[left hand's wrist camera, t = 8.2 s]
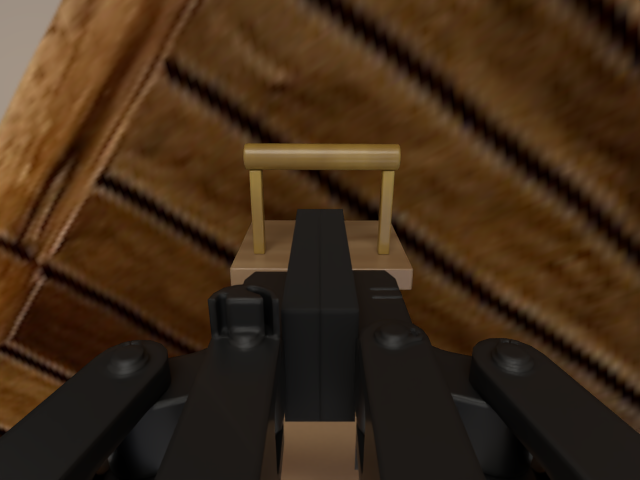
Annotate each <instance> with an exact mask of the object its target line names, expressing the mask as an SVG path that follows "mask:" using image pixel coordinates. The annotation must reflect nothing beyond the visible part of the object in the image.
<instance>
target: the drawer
mask: <svg viewBox="0 0 640 480" xmlns="http://www.w3.org/2000/svg"><path fill="white" fill-rule="evenodd" d="M243 159H244V166H245V168H246V169H247V170H250V171H249V174H250V192H251V210H252V223H251V225H250V227H249V229H248V231H247V233H246V236H245V238H244V240H243V242H242V244H241V246H240V249H239V251H238V253H237V255H236V257H235V259H234V261H233V264H232V266H231V268H230V275H231V286H233V285H239V284H243V283H244V280H245V279H246V278H248V277H249V276H250V275H251V274H253V273H254V272H255V271H287V270H288V264H289V258H290V252H291V246H292V240H293V234H294V228H295V222H296V220H265V217H264V194H263V172H262V170H381V187H380V205H379V221H344V222H345V228H346V234H347V240H348V246H349V252H350V258H351V264H352V270H385V271H387V272H388V273H389V274H390V275H392V276H393V277H394V278H396V281H397V284H398V286H399V290H411V288H412V277H413V268H412V266H411V264H410V262H409V260H408V258H407V256H406V254H405V252H404V249H403V247H402V245H401V243H400V241H399V239H398V237H397V235H396V233H395V231H394V229H393V226H392V224H391V218H392V203H393V188H394V173H395V172H394V170H398V169H399V166H400V161H401V149H400V146H399V145H398V144H245V146H244V151H243Z"/></svg>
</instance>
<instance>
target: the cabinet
mask: <svg viewBox="0 0 640 480" xmlns="http://www.w3.org/2000/svg"><path fill="white" fill-rule="evenodd" d="M355 446H356V412H355V422H285V414H284V451H283V461H282V472H281V480H359V472H358V470H355Z"/></svg>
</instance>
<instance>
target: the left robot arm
mask: <svg viewBox="0 0 640 480" xmlns="http://www.w3.org/2000/svg"><path fill="white" fill-rule="evenodd" d="M208 306H209V315H210V324H211V334H212V339H211V341H210V343H209V346H208V348H206V349H204V350H201V351H199V352H195V353H191V354H187V355H182V356H177V357H172V358H168V353H167V349H166V348H165V347H164V346H163V345H162V344H160V343H157V342H154V341H151V340H135V341H128V342H124V343H121V344H119V345H116V346H114V347H111V348H109V349H107V350H106V351H104V352H102V353H101V354H99V355H98V356H96V357H95V358H94V359H93V360H92V361H90V362H89V363H88V364H87V365H86V366H85V367H83V368H82V369H81V370H80V371H79V372H77V373H76V374H75V375H74V376H73V377H72V378H70V379H69V380H68V381H67V382H66V383H64V384H63V385H62V386H61V387H60V388H58V389H57V390H56V391H55V392H54V393H53V394H51V395H50V396H49V397H48V398H47V399H45V400H44V401H43V402H42V403H41V404H39V405H38V406H37V407H36V408H35V409H34V410H32V411H31V412H30V413H29V414H28V415H26V416H25V417H24V418H23V419H22V420H20V421H19V422H18V423H17V424H16V425H15V426H13V427H12V428H11V429H10V430H9V431H7V432H6V433H5V434H4V435H3V436H2V437H0V480H281V472H282V461H283V451H284V414H285V422H355V412H356V446H355V470H358V472H359V480H640V434H639V433H637V432H636V431H635V430H634V429H633V428H631V427H630V426H629V425H628V424H627V423H625V422H624V421H623V420H622V419H621V418H619V417H618V416H617V415H616V414H615V413H613V412H612V411H611V410H610V409H609V408H608V407H606V406H605V405H604V404H603V403H602V402H600V401H599V400H598V399H597V398H596V397H594V396H593V395H592V394H591V393H590V392H588V391H587V390H586V389H585V388H584V387H582V386H581V385H580V384H579V383H578V382H576V381H575V380H574V379H573V378H572V377H570V376H569V375H568V374H567V373H566V372H564V371H563V370H562V369H561V368H560V367H558V366H557V365H556V364H555V363H554V362H552V361H551V360H550V359H549V358H548V357H546V356H545V355H544V354H543V353H541V352H540V351H538V350H536V349H535V348H533V347H532V346H529V345H527V344H524V343H522V342H519V341H517V340H512V339H511V340H510V339H506V338H490V339H486V340H483V341H480V342H478V343H477V344H476V345H475V347H474V348H473V353H472V356H467V355H462V354H457V353H452V352H448V351H445V350H441V349H438V348H436V347H434V346H432V345H431V343H430V340H429V338H428V336H427V335H426V334H425V332H424V331H423V330H422V329H421V328H419V327H417V326H416V325H414V324H412V322H411V319H410V316H409V314H408V311H407V308H406V305H405V303H404V300H403V299H402V295H401V292H400V290H399V286H398V284H397V281H396V278H394V277H393V276H392V275H390V274H389V273H388V272H387V271H385V270H352V264H351V258H350V252H349V246H348V240H347V234H346V228H345V222H344V216H343V210H342V209H298V210H297V216H296V222H295V228H294V234H293V240H292V246H291V252H290V258H289V264H288V270H287V271H255V272H254V273H253V274H251V275H250V276H249V277H248V278H246V279H245V280H244V283H243V284H239V285H233V286H230V287H226V288H223V289H221V290H219V291H217V292H215V293H214V294H213V295H212V296H211V297H210V298H209V299H208Z"/></svg>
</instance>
